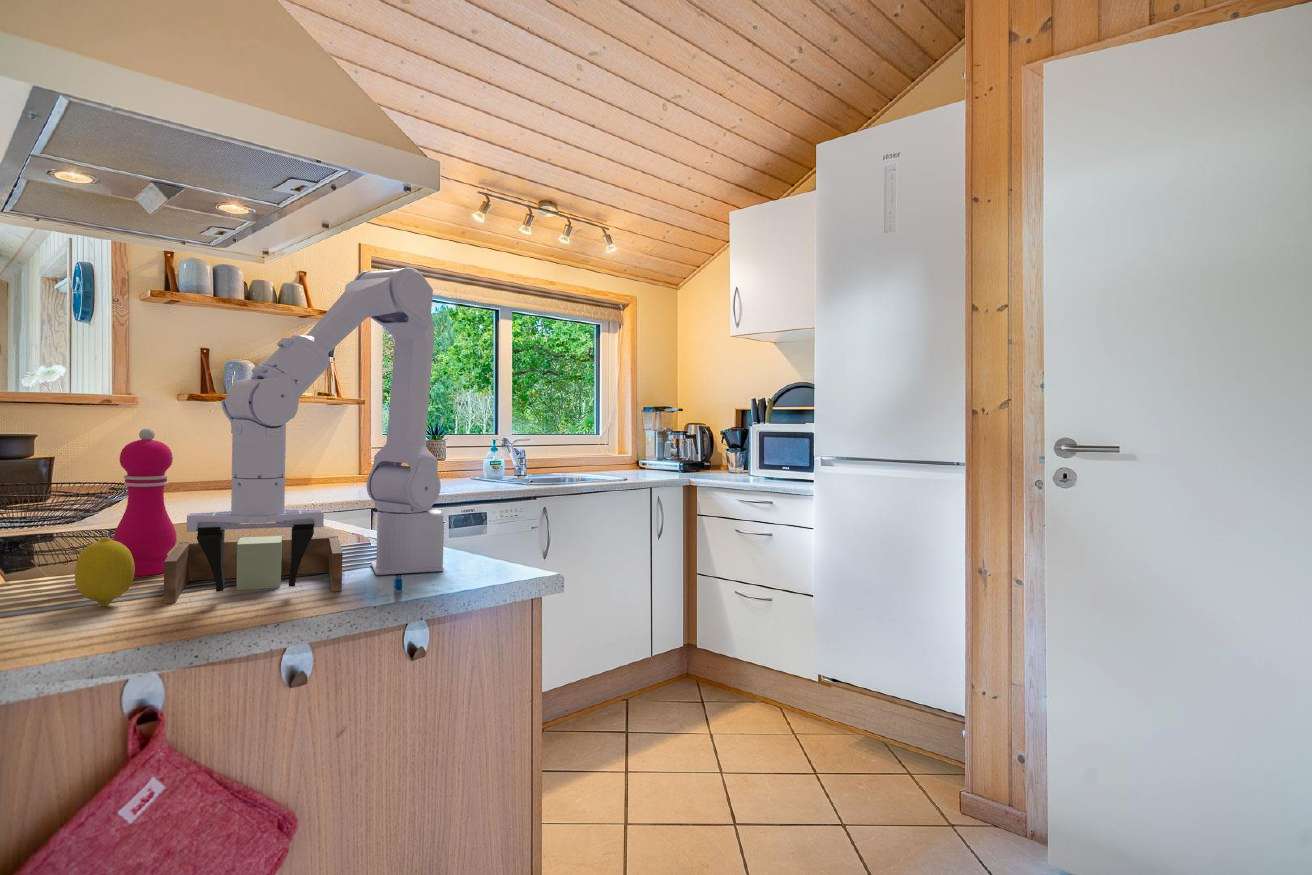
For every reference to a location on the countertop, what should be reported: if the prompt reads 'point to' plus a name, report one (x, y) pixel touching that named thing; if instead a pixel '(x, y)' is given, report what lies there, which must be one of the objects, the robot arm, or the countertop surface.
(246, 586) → the block
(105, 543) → the lemon
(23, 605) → the countertop surface
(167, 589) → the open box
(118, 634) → the countertop surface
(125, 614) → the countertop surface
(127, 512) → the pepper mill
